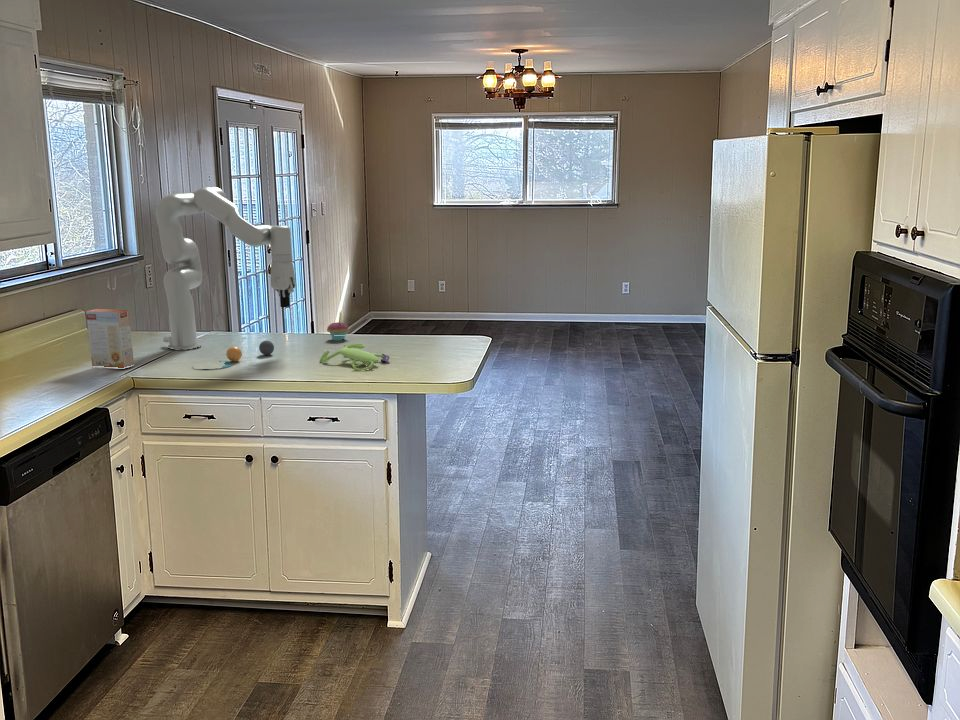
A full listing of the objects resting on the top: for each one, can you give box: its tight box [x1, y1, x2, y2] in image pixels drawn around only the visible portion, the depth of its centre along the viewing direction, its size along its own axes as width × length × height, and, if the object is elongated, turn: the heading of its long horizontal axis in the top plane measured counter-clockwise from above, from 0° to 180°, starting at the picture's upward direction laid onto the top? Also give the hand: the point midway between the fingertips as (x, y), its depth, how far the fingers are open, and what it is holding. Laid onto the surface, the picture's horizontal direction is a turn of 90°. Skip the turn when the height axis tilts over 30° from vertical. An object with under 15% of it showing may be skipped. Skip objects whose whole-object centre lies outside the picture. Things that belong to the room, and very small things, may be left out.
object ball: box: [226, 346, 243, 363], centre depth 323 cm, size 6×6×6 cm
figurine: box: [318, 342, 390, 371], centre depth 318 cm, size 18×27×6 cm
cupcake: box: [326, 311, 349, 342], centre depth 359 cm, size 9×8×12 cm
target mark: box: [222, 360, 234, 369], centre depth 317 cm, size 14×14×1 cm
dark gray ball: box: [258, 340, 275, 356], centre depth 333 cm, size 6×6×6 cm
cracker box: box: [85, 308, 135, 368], centre depth 314 cm, size 14×6×21 cm, turn 71°
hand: (285, 306), depth 336 cm, fingers closed
